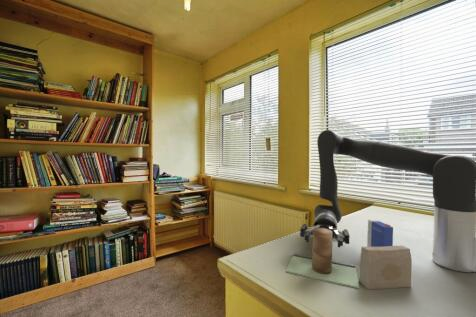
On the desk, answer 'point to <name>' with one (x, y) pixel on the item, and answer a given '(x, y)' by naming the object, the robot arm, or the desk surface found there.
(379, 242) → the walkman
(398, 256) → the fossil
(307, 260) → the mat
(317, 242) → the spiral cardboard tube
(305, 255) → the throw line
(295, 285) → the desk surface
